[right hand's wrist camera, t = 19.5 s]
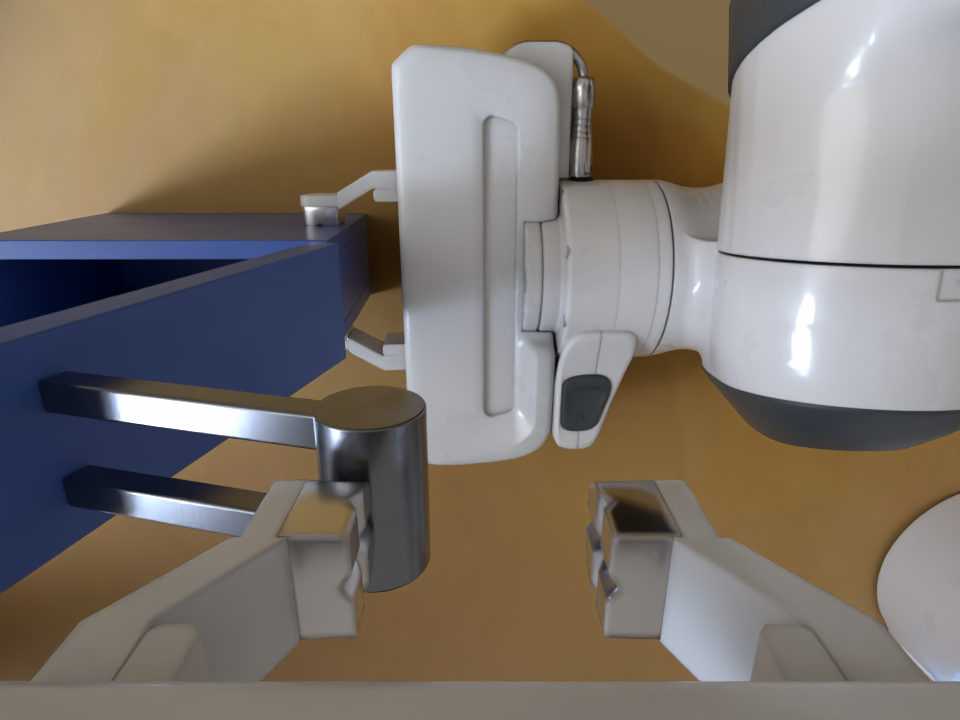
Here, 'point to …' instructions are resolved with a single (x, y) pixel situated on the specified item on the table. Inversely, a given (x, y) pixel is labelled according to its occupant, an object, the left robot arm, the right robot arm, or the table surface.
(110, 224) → the chest
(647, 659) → the table surface
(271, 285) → the lid
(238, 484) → the table surface
